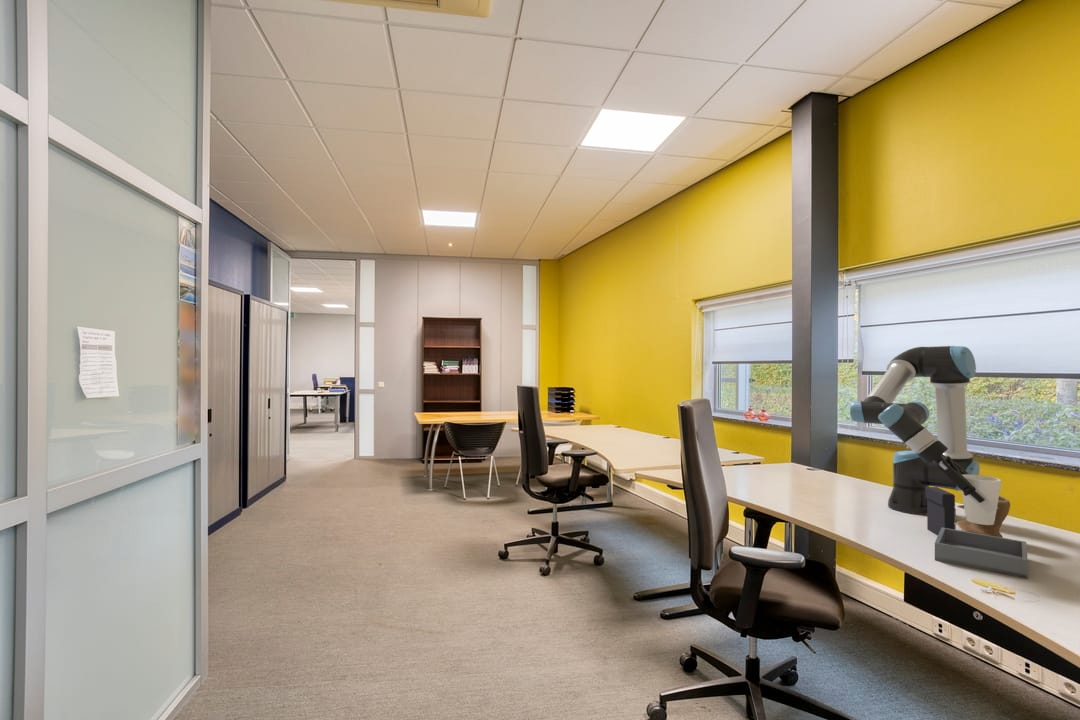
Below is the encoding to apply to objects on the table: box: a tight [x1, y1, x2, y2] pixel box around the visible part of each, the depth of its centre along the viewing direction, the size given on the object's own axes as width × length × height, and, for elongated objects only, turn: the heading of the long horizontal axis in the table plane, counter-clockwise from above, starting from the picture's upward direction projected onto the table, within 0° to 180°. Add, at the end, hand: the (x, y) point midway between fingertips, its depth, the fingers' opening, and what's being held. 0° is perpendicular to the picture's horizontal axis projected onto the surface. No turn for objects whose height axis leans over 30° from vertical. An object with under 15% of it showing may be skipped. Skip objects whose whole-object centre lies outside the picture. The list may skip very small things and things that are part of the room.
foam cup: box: [961, 474, 1002, 525], centre depth 154 cm, size 10×9×13 cm
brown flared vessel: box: [956, 495, 1011, 538], centre depth 174 cm, size 15×12×15 cm
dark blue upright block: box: [925, 486, 957, 536], centre depth 176 cm, size 11×4×15 cm, turn 168°
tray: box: [934, 527, 1029, 580], centre depth 154 cm, size 20×20×5 cm
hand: (994, 507), depth 152 cm, fingers closed on foam cup, 9 cm apart
